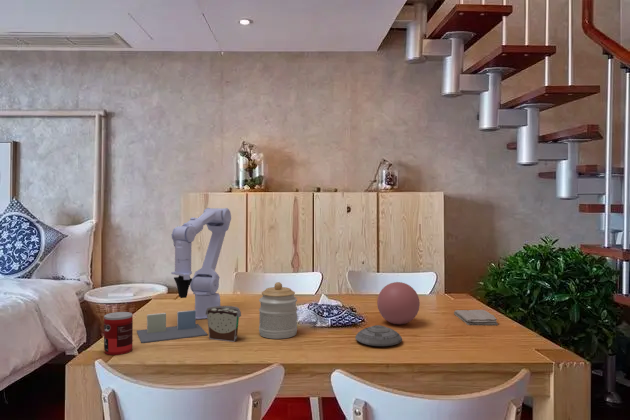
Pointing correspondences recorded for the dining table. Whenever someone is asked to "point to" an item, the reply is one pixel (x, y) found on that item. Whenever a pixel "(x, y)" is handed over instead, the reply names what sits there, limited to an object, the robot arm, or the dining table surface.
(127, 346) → the canned food
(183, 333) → the mat
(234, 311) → the food container
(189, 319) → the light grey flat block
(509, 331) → the dining table surface
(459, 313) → the washcloth
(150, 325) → the tile sage
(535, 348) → the dining table surface
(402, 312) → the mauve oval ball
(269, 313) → the jar
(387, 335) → the flying saucer
